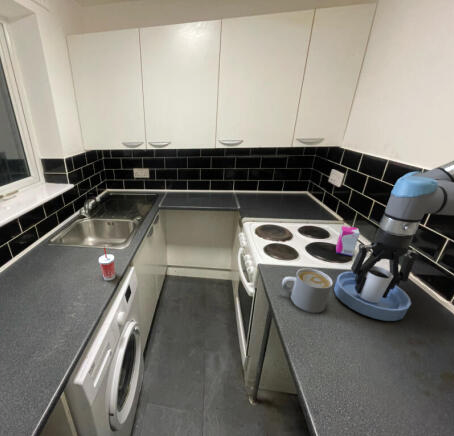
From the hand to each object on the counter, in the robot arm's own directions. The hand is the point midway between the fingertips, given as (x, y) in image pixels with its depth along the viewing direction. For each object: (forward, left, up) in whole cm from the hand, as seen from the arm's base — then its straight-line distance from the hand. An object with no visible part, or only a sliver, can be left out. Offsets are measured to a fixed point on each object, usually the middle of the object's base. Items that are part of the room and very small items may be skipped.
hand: (369, 292), depth 75 cm
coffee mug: (+20, +6, -3) cm, 21 cm away
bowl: (0, 0, -3) cm, 3 cm away
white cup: (0, 0, -2) cm, 2 cm away
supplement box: (-2, -32, -3) cm, 32 cm away
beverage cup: (+91, +16, -3) cm, 92 cm away
